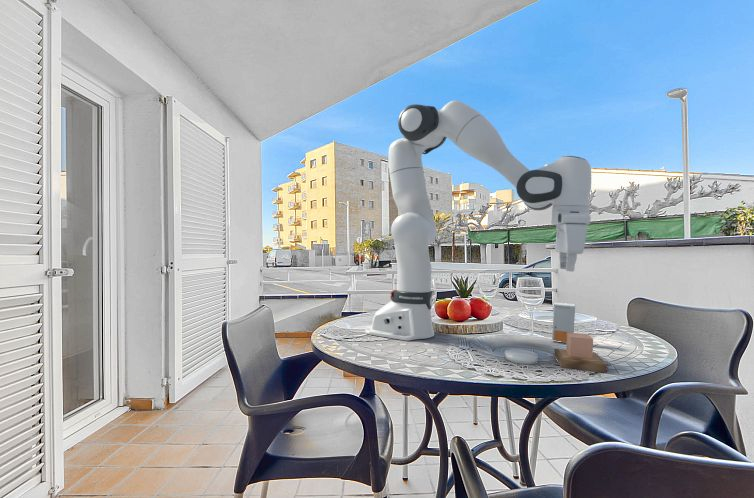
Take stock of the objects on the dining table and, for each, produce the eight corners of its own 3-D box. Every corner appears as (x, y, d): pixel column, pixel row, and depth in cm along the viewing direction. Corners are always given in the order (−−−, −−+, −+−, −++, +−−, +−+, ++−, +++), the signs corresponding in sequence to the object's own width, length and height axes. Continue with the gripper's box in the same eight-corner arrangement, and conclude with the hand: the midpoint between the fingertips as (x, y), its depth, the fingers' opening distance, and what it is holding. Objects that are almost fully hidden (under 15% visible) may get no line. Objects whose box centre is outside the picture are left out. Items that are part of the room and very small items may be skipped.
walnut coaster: (560, 367, 92) (560, 358, 92) (554, 355, 101) (554, 347, 101) (606, 372, 89) (606, 363, 89) (595, 360, 98) (595, 351, 98)
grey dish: (505, 361, 95) (505, 356, 95) (504, 353, 102) (504, 347, 102) (539, 365, 92) (539, 359, 92) (535, 356, 100) (535, 351, 100)
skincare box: (551, 342, 116) (553, 303, 115) (552, 339, 119) (553, 302, 119) (573, 345, 113) (575, 305, 113) (573, 342, 117) (575, 304, 116)
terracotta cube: (570, 356, 93) (570, 336, 93) (566, 351, 98) (566, 332, 98) (592, 359, 92) (593, 338, 92) (587, 353, 97) (588, 334, 97)
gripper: (551, 220, 110) (548, 266, 110) (563, 215, 90) (559, 271, 91) (575, 220, 108) (572, 268, 108) (592, 215, 88) (588, 273, 89)
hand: (566, 270), depth 99 cm, fingers open, 8 cm apart
